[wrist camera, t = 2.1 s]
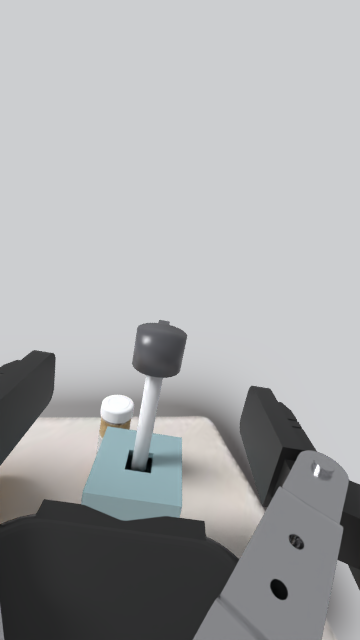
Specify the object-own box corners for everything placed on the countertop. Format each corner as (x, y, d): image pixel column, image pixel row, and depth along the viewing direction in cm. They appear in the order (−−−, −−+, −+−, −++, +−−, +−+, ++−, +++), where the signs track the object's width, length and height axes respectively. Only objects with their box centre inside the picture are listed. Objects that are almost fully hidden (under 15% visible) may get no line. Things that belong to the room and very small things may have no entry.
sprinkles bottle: (120, 490, 42) (132, 414, 38) (89, 487, 42) (98, 410, 38) (124, 465, 47) (135, 395, 43) (96, 463, 46) (105, 391, 42)
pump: (156, 495, 25) (187, 345, 21) (111, 488, 25) (133, 336, 21) (161, 442, 31) (185, 319, 27) (125, 437, 31) (144, 312, 27)
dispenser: (150, 636, 28) (181, 506, 23) (68, 626, 27) (82, 492, 22) (156, 549, 35) (181, 437, 30) (92, 540, 35) (107, 426, 30)
